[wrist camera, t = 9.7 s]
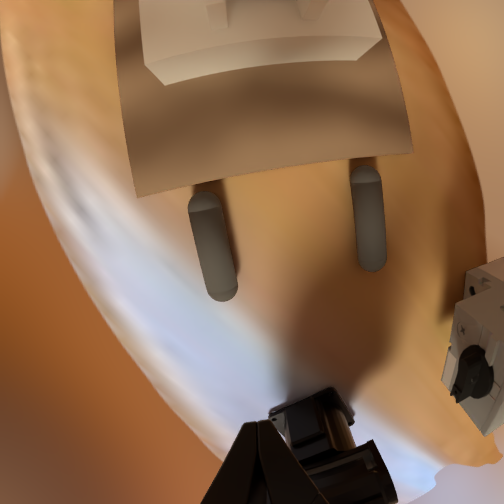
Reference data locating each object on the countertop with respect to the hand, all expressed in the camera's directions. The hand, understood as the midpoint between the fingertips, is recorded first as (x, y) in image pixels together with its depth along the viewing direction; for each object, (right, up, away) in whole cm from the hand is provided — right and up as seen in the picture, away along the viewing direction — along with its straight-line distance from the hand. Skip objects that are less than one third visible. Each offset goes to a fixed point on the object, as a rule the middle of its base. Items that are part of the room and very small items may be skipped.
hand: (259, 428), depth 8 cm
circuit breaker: (+20, +1, +13) cm, 24 cm away
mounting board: (0, +20, +7) cm, 21 cm away
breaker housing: (0, +20, +7) cm, 21 cm away
